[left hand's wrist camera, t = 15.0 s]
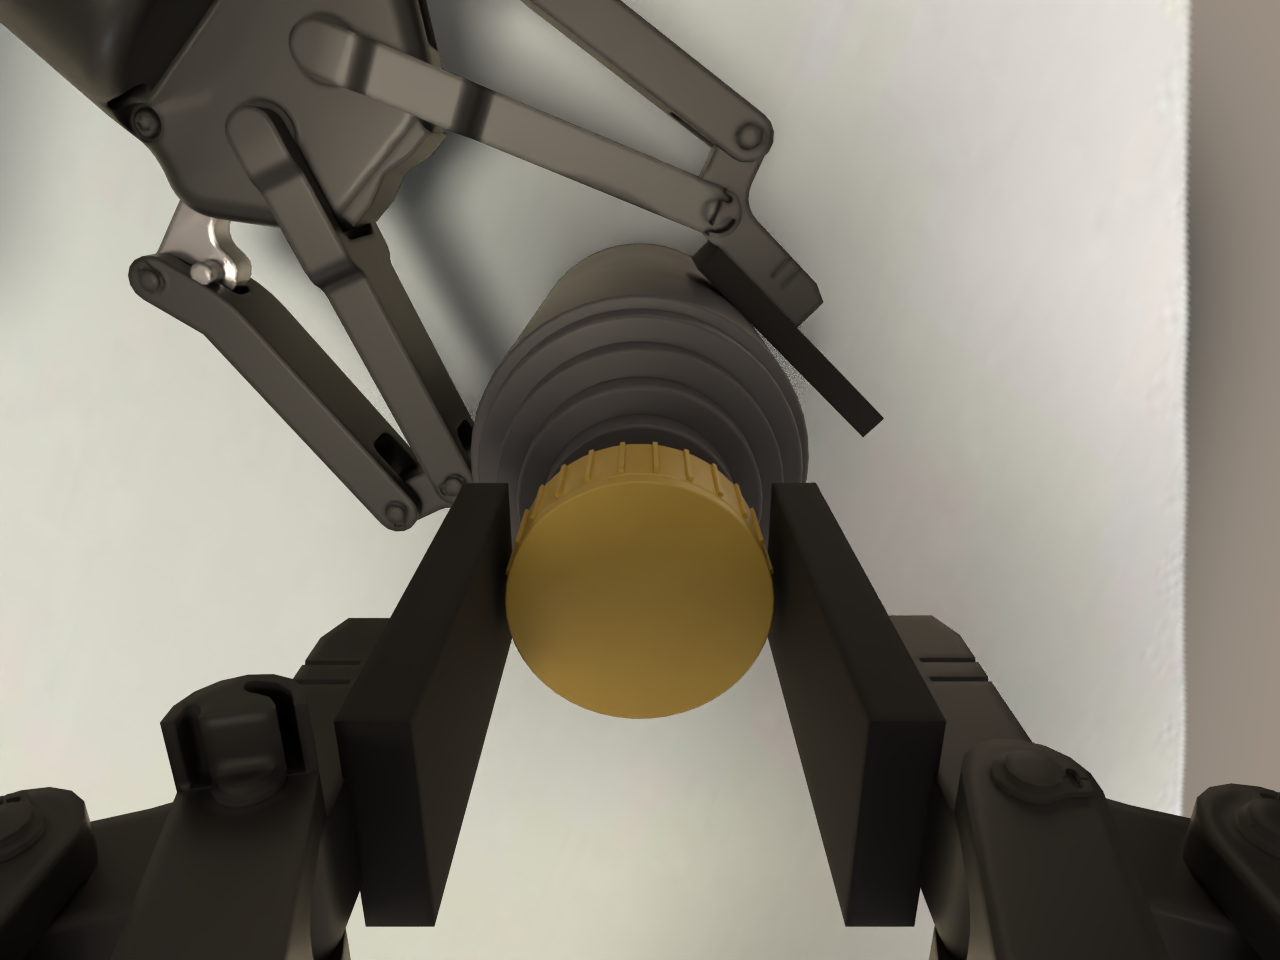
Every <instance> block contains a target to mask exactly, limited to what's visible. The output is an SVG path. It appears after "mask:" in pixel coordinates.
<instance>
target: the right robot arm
mask: <svg viewBox="0 0 1280 960" xmlns="http://www.w3.org/2000/svg"><path fill="white" fill-rule="evenodd" d="M521 1H522V2H523V3H524V4H526V5H527V6H528V7H529V8H530V9H532V10H533V11H534V12H536V13H537V14H538V15H540V16H541V17H542V18H543V19H545V20H546V21H547V22H549V23H550V24H551V25H553V26H554V27H555V28H556V29H558V30H559V31H560V32H562V33H563V34H564V35H565V36H567V37H568V38H569V39H571V40H572V41H573V42H575V43H576V44H577V45H578V46H580V47H581V48H582V49H584V50H585V51H586V52H588V53H589V54H590V55H591V56H593V57H594V58H595V59H597V60H598V61H599V62H601V63H602V64H603V65H604V66H606V67H607V68H608V69H610V70H611V71H612V72H614V73H615V74H616V75H617V76H619V77H620V78H621V79H623V80H624V81H625V82H626V83H628V84H629V85H630V86H632V87H633V88H634V89H636V90H637V91H638V92H639V93H641V94H642V95H643V96H645V97H646V98H647V99H649V100H650V101H651V102H652V103H654V104H655V105H656V106H658V107H659V108H660V109H662V110H663V111H664V112H665V113H667V114H668V115H669V116H671V117H672V118H673V119H674V120H676V121H677V122H678V123H680V124H681V125H682V126H684V127H685V128H686V129H687V130H689V131H690V132H691V133H693V134H694V135H695V136H697V137H698V138H699V139H700V140H702V141H703V142H704V143H706V144H707V145H708V146H710V147H711V148H712V149H711V151H710V153H709V155H708V158H707V160H706V162H705V164H704V167H703V169H702V171H701V173H700V176H699V177H698V176H696V175H693V174H691V173H688V172H686V171H684V170H681V169H679V168H677V167H674V166H672V165H669V164H667V163H665V162H662V161H660V160H657V159H655V158H653V157H650V156H648V155H645V154H643V153H641V152H638V151H636V150H634V149H631V148H629V147H626V146H624V145H622V144H619V143H617V142H614V141H612V140H610V139H607V138H605V137H602V136H600V135H598V134H595V133H593V132H590V131H588V130H586V129H583V128H581V127H579V126H576V125H574V124H571V123H569V122H567V121H564V120H562V119H559V118H557V117H555V116H552V115H550V114H547V113H545V112H543V111H540V110H538V109H535V108H533V107H531V106H528V105H526V104H524V103H521V102H519V101H516V100H514V99H512V98H509V97H507V96H504V95H502V94H500V93H497V92H495V91H492V90H490V89H488V88H485V87H483V86H481V85H478V84H476V83H474V82H471V81H469V80H467V79H464V78H462V77H460V76H457V75H455V74H452V73H450V72H448V71H445V70H443V69H442V66H441V61H440V57H439V53H438V49H437V44H436V40H435V36H434V32H433V27H432V23H431V19H430V14H429V10H428V6H427V2H426V0H0V22H1V23H2V24H3V25H4V26H5V27H6V28H8V29H9V30H10V31H11V32H12V33H13V34H15V35H16V36H17V37H18V38H19V39H20V40H22V41H23V42H24V43H25V44H26V45H27V46H28V47H30V48H31V49H32V50H33V51H34V52H35V53H37V54H38V55H39V56H40V57H41V58H42V59H43V60H45V61H46V62H47V63H48V64H49V65H50V66H52V67H53V68H54V69H55V70H56V71H57V72H58V73H60V74H61V75H62V76H63V77H64V78H65V79H67V80H68V81H69V82H70V83H71V84H72V85H74V86H75V87H76V88H77V89H78V90H79V91H80V92H82V93H83V94H84V95H85V96H86V97H87V98H89V99H90V100H91V101H92V102H93V103H94V104H95V105H97V106H98V107H99V108H100V109H101V110H102V111H104V112H105V113H106V114H107V115H108V116H109V117H111V118H112V119H113V120H114V121H116V122H117V123H118V124H120V125H121V126H122V127H123V128H125V129H126V130H127V131H129V132H130V133H131V134H133V135H134V136H135V137H136V138H138V139H139V140H140V141H141V142H143V143H144V144H145V145H146V146H147V147H148V148H149V149H150V151H151V152H152V153H153V155H154V156H155V157H156V159H157V160H158V162H159V163H160V165H161V167H162V169H163V170H164V172H165V175H166V177H167V179H168V181H169V183H170V185H171V187H172V189H173V191H174V192H175V194H176V195H177V196H178V197H179V199H180V201H179V204H178V206H177V208H176V211H175V213H174V215H173V217H172V220H171V222H170V224H169V227H168V229H167V231H166V234H165V236H164V238H163V241H162V243H161V245H160V247H159V250H158V251H157V253H156V254H152V255H147V256H142V257H140V258H138V259H136V260H134V262H133V263H132V264H131V266H130V268H129V273H128V277H129V281H130V285H131V287H132V288H133V290H134V291H135V293H136V294H137V295H139V296H140V297H141V298H142V299H144V300H145V301H147V302H149V303H150V304H152V305H154V306H156V307H157V308H159V309H161V310H163V311H164V312H166V313H168V314H169V315H171V316H173V317H175V318H176V319H178V320H180V321H181V322H183V323H185V324H187V325H188V326H190V327H192V328H194V329H195V330H197V331H199V332H200V333H202V334H204V335H205V336H206V338H207V339H208V340H209V341H210V342H211V343H212V344H213V345H214V346H215V347H216V348H217V349H218V350H219V351H220V352H221V354H222V355H223V356H224V357H225V358H226V359H227V360H228V361H229V362H230V363H231V364H232V365H233V366H234V367H235V368H236V370H237V371H238V372H239V373H240V374H241V375H242V376H243V377H244V378H245V379H246V380H247V381H248V382H249V383H250V384H251V385H252V387H253V388H254V389H255V390H256V391H257V392H258V393H259V394H260V395H261V396H262V397H263V398H264V399H265V400H266V401H267V403H268V404H269V405H270V406H271V407H272V408H273V409H274V410H275V411H276V412H277V413H278V414H279V415H280V416H281V417H282V419H283V420H284V421H285V422H286V423H287V424H288V425H289V426H290V427H291V428H292V429H293V430H294V431H295V432H296V433H297V434H298V436H299V437H300V438H301V439H302V440H303V441H304V442H305V443H306V444H307V445H308V446H309V447H310V448H311V449H312V450H313V452H314V453H315V454H316V455H317V456H318V457H319V458H320V459H321V460H322V461H323V462H324V463H325V464H326V465H327V466H328V468H329V469H330V470H331V471H332V472H333V473H334V474H335V475H336V476H337V477H338V478H339V479H340V480H341V481H342V482H343V483H344V485H345V486H346V487H347V488H348V489H349V490H350V491H351V492H352V493H353V494H354V495H355V496H356V497H357V498H358V499H359V501H360V502H361V503H362V504H363V505H364V506H365V507H366V508H367V509H368V510H369V511H370V512H371V513H372V514H373V515H374V517H375V518H376V519H377V520H378V521H379V522H380V523H381V524H382V525H384V526H385V527H386V528H388V529H390V530H393V531H405V530H407V529H409V528H411V527H412V526H413V525H414V524H415V522H416V521H417V520H419V519H421V518H423V517H425V516H427V515H429V514H432V513H434V512H436V511H438V510H441V509H444V508H451V506H452V504H453V503H454V501H455V499H456V497H457V495H458V494H459V492H460V490H461V488H462V486H463V484H464V483H474V481H473V476H472V466H471V442H472V431H473V427H474V422H473V420H472V418H471V416H470V415H469V413H468V411H467V409H466V407H465V405H464V403H463V401H462V399H461V397H460V395H459V393H458V391H457V390H456V388H455V386H454V384H453V382H452V380H451V378H450V376H449V374H448V372H447V370H446V368H445V366H444V364H443V363H442V361H441V359H440V357H439V355H438V353H437V351H436V349H435V347H434V345H433V343H432V341H431V339H430V338H429V336H428V334H427V332H426V330H425V328H424V326H423V324H422V322H421V320H420V318H419V316H418V314H417V313H416V311H415V309H414V307H413V305H412V303H411V301H410V299H409V297H408V295H407V293H406V291H405V289H404V287H403V286H402V284H401V282H400V280H399V278H398V276H397V274H396V272H395V270H394V268H393V266H392V264H391V261H390V252H389V249H388V246H387V244H386V242H385V240H384V238H383V236H382V234H381V232H380V230H379V228H378V226H377V224H376V221H377V220H378V219H379V218H380V217H381V216H382V214H383V213H384V212H385V211H386V209H387V208H388V207H389V206H390V205H391V203H392V202H393V201H394V199H395V196H396V194H397V192H398V189H399V187H400V185H401V182H402V180H403V178H404V175H405V174H406V173H407V172H408V171H409V170H411V169H412V168H414V167H415V166H417V165H418V164H420V163H421V162H423V161H424V160H426V159H427V158H428V157H430V156H431V154H432V153H433V152H434V151H435V150H436V148H437V147H438V146H439V145H440V143H441V142H442V141H443V140H444V139H445V137H446V136H447V134H446V133H445V132H444V129H447V130H450V131H453V132H455V133H458V134H460V135H463V136H466V137H469V138H472V139H474V140H477V141H479V142H482V143H484V144H487V145H489V146H492V147H494V148H496V149H499V150H501V151H504V152H506V153H509V154H511V155H514V156H516V157H518V158H521V159H523V160H526V161H528V162H531V163H533V164H536V165H538V166H540V167H543V168H545V169H548V170H550V171H553V172H555V173H558V174H560V175H562V176H565V177H567V178H570V179H572V180H575V181H577V182H580V183H582V184H584V185H587V186H589V187H592V188H594V189H597V190H599V191H602V192H604V193H606V194H609V195H611V196H614V197H616V198H619V199H621V200H624V201H626V202H628V203H631V204H633V205H636V206H638V207H641V208H643V209H646V210H648V211H650V212H653V213H655V214H658V215H660V216H663V217H665V218H668V219H670V220H672V221H675V222H677V223H680V224H682V225H685V226H687V227H690V228H692V229H694V230H697V231H699V232H702V233H703V234H704V235H705V236H706V237H707V238H708V239H709V240H708V241H707V242H706V243H705V244H704V245H703V247H702V248H701V249H700V250H699V251H698V252H697V253H696V254H695V255H694V256H693V257H692V260H693V262H694V264H695V265H696V267H697V269H698V270H699V271H700V272H701V273H702V274H703V275H704V276H705V277H706V278H707V279H708V280H709V281H710V282H711V283H712V284H713V285H714V286H715V287H716V288H717V289H718V290H719V291H720V292H721V293H722V294H723V296H724V297H725V298H726V299H727V300H728V301H729V302H730V303H731V304H732V305H733V306H734V307H735V308H736V309H737V310H739V311H740V313H741V314H742V315H743V316H744V317H745V318H746V319H747V320H748V321H749V322H750V323H751V324H752V325H753V326H754V327H755V328H756V329H757V330H758V331H759V332H760V333H761V334H762V335H763V336H764V337H765V338H766V339H767V340H768V341H769V342H770V343H771V344H772V345H773V346H774V347H775V348H776V349H777V350H778V351H779V352H780V353H781V354H782V355H783V356H784V357H785V358H786V359H787V361H788V362H789V363H790V364H791V365H792V366H793V367H794V368H795V369H796V370H797V371H798V372H799V373H800V374H801V375H802V376H803V377H804V378H805V379H806V380H807V381H808V382H809V383H810V384H811V385H812V386H813V387H814V388H815V389H816V390H817V391H818V392H819V393H820V394H821V395H822V396H823V397H824V398H825V399H826V400H827V401H828V402H829V403H830V404H831V405H832V406H833V407H834V408H835V409H836V410H837V411H838V412H839V413H840V414H841V415H842V416H843V417H844V418H845V419H846V420H847V421H848V422H849V423H850V424H851V425H852V427H853V428H854V429H855V430H856V431H857V432H858V433H859V434H860V435H861V436H862V437H864V436H865V435H866V434H867V433H868V432H870V431H871V430H872V429H873V428H874V427H875V426H876V425H877V424H879V423H880V422H881V421H882V420H883V419H884V418H883V417H882V416H881V415H880V414H879V413H878V412H877V411H876V409H875V408H874V407H873V406H872V405H871V404H870V403H869V402H868V401H867V400H866V399H865V398H864V397H863V396H862V395H861V394H860V393H859V392H858V391H857V390H856V389H855V388H854V387H853V386H852V384H851V383H850V382H849V381H848V380H847V379H846V378H845V377H844V376H843V375H842V374H841V373H840V372H839V371H838V370H837V369H836V368H835V367H834V366H833V365H832V364H831V363H830V362H829V361H828V360H827V359H826V358H825V357H824V356H823V354H822V353H821V352H820V351H819V350H818V349H817V348H816V347H815V346H814V345H813V344H812V343H811V342H810V341H809V340H808V339H807V338H806V337H805V336H804V335H803V334H802V333H801V332H800V331H799V330H798V329H797V327H798V326H799V325H801V324H802V323H803V322H804V321H805V320H806V319H807V318H808V317H809V316H810V315H811V314H812V313H813V312H814V311H815V310H816V309H817V308H818V307H819V306H820V305H821V304H822V303H823V300H822V297H821V295H820V292H819V289H818V287H817V284H816V283H815V282H814V281H813V280H812V278H811V277H810V276H809V275H808V274H807V273H806V272H805V271H804V270H803V269H802V268H801V267H800V266H799V265H798V264H797V263H796V261H795V260H794V259H793V258H792V257H791V256H790V255H789V254H788V253H787V252H786V251H785V250H784V249H783V248H782V247H781V246H780V244H779V243H778V242H777V241H776V240H775V239H774V238H773V237H772V236H771V235H770V234H769V233H768V232H767V231H766V230H765V229H764V227H763V226H762V225H761V224H760V223H759V222H758V221H757V220H756V219H755V217H754V216H753V214H752V212H751V210H750V207H749V200H748V197H749V190H750V187H751V184H752V182H753V179H754V177H755V175H756V173H757V171H758V169H759V167H760V164H761V162H762V160H763V158H764V156H765V155H766V154H767V153H768V152H769V150H770V148H771V146H772V143H773V136H774V131H773V128H772V125H771V122H770V121H769V120H768V118H767V117H766V116H765V115H764V114H763V113H762V112H760V111H759V110H758V109H757V108H755V107H754V106H753V105H752V104H750V103H749V102H748V101H747V100H745V99H744V98H743V97H742V96H740V95H739V94H738V93H737V92H735V91H734V90H733V89H732V88H730V87H729V86H728V85H726V84H725V83H724V82H723V81H721V80H720V79H719V78H718V77H716V76H715V75H714V74H713V73H711V72H710V71H709V70H708V69H706V68H705V67H704V66H703V65H701V64H700V63H699V62H697V61H696V60H695V59H694V58H692V57H691V56H690V55H689V54H687V53H686V52H685V51H684V50H682V49H681V48H680V47H679V46H677V45H676V44H675V43H674V42H672V41H671V40H670V39H668V38H667V37H666V36H665V35H663V34H662V33H661V32H660V31H658V30H657V29H656V28H655V27H653V26H652V25H651V24H650V23H648V22H647V21H646V20H645V19H643V18H642V17H641V16H640V15H638V14H637V13H636V12H634V11H633V10H632V9H631V8H629V7H628V6H627V5H626V4H624V3H623V2H622V1H621V0H521ZM231 221H236V222H243V223H249V224H256V225H263V226H270V227H277V228H281V230H282V232H283V233H284V235H285V237H286V239H287V241H288V242H289V244H290V246H291V248H292V250H293V251H294V253H295V255H296V257H297V259H298V260H299V262H300V264H301V266H302V268H303V269H304V271H305V273H306V274H307V276H308V277H309V279H310V280H311V281H312V282H313V283H314V284H315V285H316V286H318V287H319V288H320V289H322V290H323V291H324V293H325V294H326V296H327V297H328V299H329V301H330V303H331V304H332V306H333V308H334V310H335V312H336V313H337V315H338V317H339V319H340V321H341V323H342V324H343V326H344V328H345V330H346V332H347V333H348V335H349V337H350V339H351V341H352V342H353V344H354V346H355V348H356V350H357V351H358V353H359V355H360V357H361V359H362V360H363V362H364V364H365V366H366V368H367V369H368V371H369V373H370V375H371V377H372V379H373V380H374V382H375V384H376V386H377V388H378V389H379V391H380V393H381V395H382V397H383V398H384V400H385V402H386V404H387V406H388V407H389V409H390V411H391V413H392V415H393V416H394V418H395V420H396V422H397V424H398V425H399V427H400V429H401V431H402V433H403V435H404V436H405V438H406V440H407V442H408V444H409V445H410V447H411V448H410V447H409V445H408V444H407V443H406V442H405V441H404V440H403V439H402V438H401V436H400V435H399V434H398V433H397V432H396V431H395V430H394V429H393V428H392V426H391V425H390V424H389V423H388V422H387V421H386V420H385V419H384V417H383V416H382V415H381V414H380V413H379V412H378V411H377V410H376V408H375V407H374V406H373V405H372V404H371V403H370V402H369V401H368V400H367V398H366V397H365V396H364V395H363V394H362V393H361V392H360V391H359V389H358V388H357V387H356V386H355V385H354V384H353V383H352V382H351V381H350V379H349V378H348V377H347V376H346V375H345V374H344V373H343V372H342V370H341V369H340V368H339V367H338V366H337V365H336V364H335V363H334V361H333V360H332V359H331V358H330V357H329V356H328V355H327V354H326V353H325V351H324V350H323V349H322V348H321V347H320V346H319V345H318V344H317V342H316V341H315V340H314V339H313V338H312V337H311V336H310V335H309V334H308V332H307V331H306V330H305V329H304V328H303V327H302V326H301V325H300V323H299V322H298V321H297V320H296V319H295V318H294V317H293V316H292V314H291V313H290V312H289V311H288V310H287V309H286V308H285V307H284V306H283V305H282V304H281V303H280V302H279V301H278V300H277V299H276V298H275V297H274V296H273V295H272V294H271V293H270V292H269V291H268V290H266V289H265V288H264V287H263V286H262V285H260V284H259V283H258V282H256V281H255V280H253V279H252V278H250V277H251V267H252V266H251V262H250V260H249V259H248V257H247V256H246V255H245V254H244V253H243V252H242V251H241V250H240V249H239V248H238V247H237V246H236V245H235V243H234V242H233V240H232V238H231V235H230V222H231Z"/></svg>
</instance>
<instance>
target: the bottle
mask: <svg viewBox="0 0 1280 960" xmlns="http://www.w3.org/2000/svg"><path fill="white" fill-rule="evenodd" d="M620 442H625V445H627V444H651V445H652V443H653V442H658V445H660V446H665V447H670V448H675V449H678V450H681V451H684V449H687V450H689V454H691V455H694V456H696V457H698V458H699V459H701V460H703V461H705V462H707V463H709V464H710V465H712V463H714V464H716V465H717V469H718V471H720V472H721V473H722V474H723V475H724V476H725V477H726V478H727V479H728V480H729V481H731V482H732V484H733V485H734V484H735V483H737V484H738V485H739V488H740V491H741V494H742V496H743V498H744V500H745V502H746V503H747V505H748V507H749V509H750V508H753V509H754V511H755V514H756V517H757V520H758V523H759V526H760V529H761V532H762V535H763V538H764V541H765V546H766V549H767V552H768V537H769V521H770V504H771V487H772V483H806V479H807V470H808V459H809V453H808V435H807V430H806V425H805V420H804V415H803V412H802V409H801V406H800V403H799V400H798V397H797V394H796V393H795V391H794V389H793V387H792V385H791V383H790V381H789V379H788V377H787V375H786V374H785V372H784V371H783V369H782V368H781V366H780V365H779V363H778V362H777V360H776V359H775V358H774V356H773V355H772V353H771V352H770V350H769V349H768V347H767V346H766V345H765V343H764V342H763V340H762V339H761V337H760V336H759V334H758V333H757V332H756V330H755V329H754V327H753V326H752V324H751V323H750V322H749V321H748V320H747V319H746V318H745V317H744V316H743V315H742V314H741V313H740V311H739V310H737V309H736V308H735V307H734V306H733V305H732V304H731V303H730V302H729V301H728V300H727V299H726V298H725V297H724V296H723V294H722V293H721V292H720V291H719V290H718V289H717V288H716V287H715V286H714V285H713V284H712V283H711V282H710V281H709V280H708V279H707V278H706V277H705V276H704V275H703V274H702V273H701V272H700V271H699V270H698V269H697V267H696V265H695V264H694V262H693V260H692V257H691V256H688V255H686V254H684V253H682V252H680V251H677V250H674V249H671V248H667V247H664V246H658V245H651V244H629V245H621V246H616V247H612V248H609V249H605V250H603V251H600V252H598V253H595V254H593V255H591V256H589V257H587V258H586V259H584V260H582V261H581V262H579V263H578V264H576V265H575V266H574V267H573V268H571V269H570V270H569V271H568V272H567V273H566V274H565V275H564V276H563V277H562V278H561V279H560V280H559V281H558V282H557V283H556V285H555V286H554V288H553V289H552V290H551V292H550V293H549V294H548V296H547V297H546V299H545V300H544V302H543V303H542V304H541V306H540V307H539V309H538V310H537V312H536V313H535V315H534V316H533V317H532V319H531V320H530V322H529V323H528V325H527V326H526V328H525V329H524V330H523V332H522V333H521V335H520V336H519V338H518V339H517V341H516V342H515V343H514V345H513V346H512V348H511V349H510V351H509V352H508V354H507V355H506V356H505V358H504V359H503V361H502V362H501V364H500V365H499V367H498V368H497V369H496V371H495V372H494V374H493V376H492V378H491V380H490V382H489V383H488V385H487V387H486V389H485V391H484V393H483V396H482V399H481V401H480V404H479V407H478V410H477V413H476V417H475V422H474V427H473V431H472V442H471V466H472V476H473V481H474V483H508V487H509V504H510V521H511V537H512V551H513V548H514V542H515V539H516V536H517V533H518V530H519V527H520V524H521V521H522V518H523V515H524V512H525V510H526V509H528V510H529V509H530V508H531V506H532V504H533V502H534V500H535V499H536V497H537V493H538V490H539V487H540V486H541V485H542V484H543V485H544V486H545V485H546V484H547V483H548V482H549V481H550V480H551V479H552V478H553V477H554V476H555V475H556V474H557V473H559V472H560V470H561V466H562V465H564V464H566V465H567V466H568V465H569V464H571V463H573V462H574V461H576V460H578V459H580V458H581V457H583V456H586V455H588V453H589V451H590V450H592V449H593V450H594V452H596V451H598V450H602V449H606V448H609V447H613V446H620Z"/></svg>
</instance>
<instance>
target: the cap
mask: <svg viewBox="0 0 1280 960" xmlns="http://www.w3.org/2000/svg"><path fill="white" fill-rule="evenodd" d="M772 573H774V572H773V567H772V564H771V561H770V558H769V555H768V552H767V549H766V546H765V541H764V538H763V535H762V532H761V529H760V526H759V523H758V520H757V517H756V514H755V511H754V509H753V508H750V509H749V507H748V505H747V503H746V502H745V500H744V498H743V496H742V494H741V491H740V488H739V485H738V484H737V483H735V484H734V485H733V484H732V482H731V481H729V480H728V479H727V478H726V477H725V476H724V475H723V474H722V473H721V472H720V471H718V469H717V465H716V464H714V463H712V465H710V464H709V463H707V462H705V461H703V460H701V459H699V458H698V457H696V456H694V455H691V454H689V450H687V449H684V451H681V450H678V449H675V448H670V447H665V446H660V445H658V442H653V443H652V445H651V444H627V445H625V442H620V446H613V447H609V448H606V449H602V450H598V451H596V452H594V450H593V449H592V450H590V451H589V453H588V455H586V456H583V457H581V458H580V459H578V460H576V461H574V462H573V463H571V464H569V465H568V466H567V465H566V464H564V465H562V466H561V470H560V472H559V473H557V474H556V475H555V476H554V477H553V478H552V479H551V480H550V481H549V482H548V483H547V484H546V485H545V486H544V485H543V484H542V485H541V486H540V487H539V490H538V493H537V497H536V499H535V500H534V502H533V504H532V506H531V508H530V509H529V510H528V509H526V510H525V512H524V515H523V518H522V521H521V524H520V527H519V530H518V533H517V536H516V539H515V542H514V548H513V551H512V554H511V557H510V560H509V563H508V566H507V569H506V575H508V577H507V582H506V591H505V608H506V617H507V622H508V626H509V630H510V633H511V636H512V638H513V641H514V643H515V646H516V647H517V649H518V651H519V653H520V655H521V656H522V658H523V660H524V661H525V662H526V664H527V665H528V666H529V668H530V669H531V670H532V672H533V673H534V674H535V675H536V676H537V677H538V678H539V679H540V680H541V681H542V682H543V683H544V684H545V685H547V686H548V687H549V688H550V689H552V690H553V691H554V692H555V693H557V694H558V695H560V696H562V697H563V698H565V699H567V700H568V701H570V702H572V703H574V704H576V705H578V706H581V707H583V708H585V709H588V710H591V711H594V712H597V713H600V714H605V715H610V716H614V717H622V718H632V719H643V718H657V717H666V716H670V715H674V714H679V713H683V712H685V711H688V710H691V709H694V708H697V707H699V706H701V705H703V704H705V703H707V702H709V701H711V700H713V699H715V698H716V697H718V696H719V695H721V694H722V693H724V692H725V691H727V690H728V689H729V688H730V687H731V686H733V685H734V684H735V683H736V682H737V681H738V680H739V679H740V678H741V677H742V676H743V675H744V674H745V673H746V672H747V671H748V670H749V668H750V667H751V666H752V664H753V663H754V661H755V660H756V659H757V657H758V655H759V654H760V652H761V650H762V648H763V646H764V644H765V642H766V639H767V636H768V634H769V631H770V628H771V623H772V618H773V613H774V587H773V580H772V576H771V574H772Z"/></svg>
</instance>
